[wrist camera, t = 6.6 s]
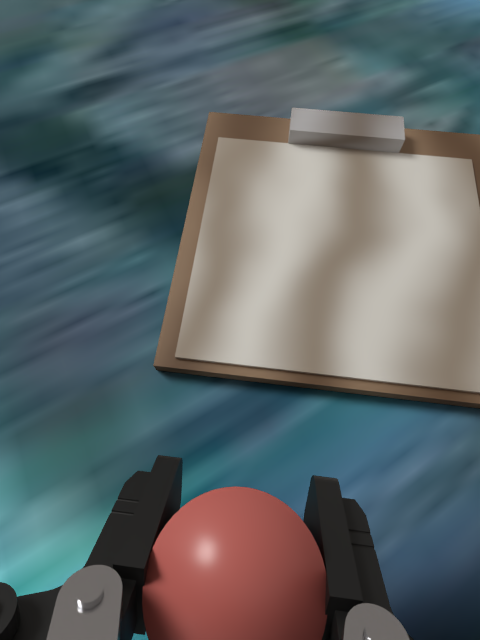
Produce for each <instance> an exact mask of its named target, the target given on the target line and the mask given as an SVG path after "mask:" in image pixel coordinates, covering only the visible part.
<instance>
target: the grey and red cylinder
mask: <svg viewBox="0 0 480 640" xmlns="http://www.w3.org/2000/svg"><path fill="white" fill-rule="evenodd" d="M325 598H326V570H325V566H324V562H323V558H322V556H321V553H320V550H319V548H318V545H317V543H316V541H315V539H314V537H313V535H312V534H311V532H310V531H309V529H308V528H307V526H306V525H305V523H304V522H303V521H302V520H301V518H300V517H299V516H298V515H297V514H296V513H295V512H294V511H293V510H292V509H291V508H290V507H289V506H288V505H286V504H285V503H283V502H282V501H280V500H279V499H278V498H276V497H274V496H272V495H270V494H268V493H265V492H262V491H260V490H257V489H252V488H247V487H225V488H220V489H215V490H212V491H209V492H207V493H204V494H202V495H200V496H198V497H196V498H194V499H193V500H191V501H190V502H188V503H187V504H186V505H184V506H183V507H182V508H181V509H180V510H179V511H178V512H176V513H175V514H174V515H173V517H172V518H171V519H170V520H169V521H168V523H167V524H166V525H165V527H164V528H163V530H162V531H161V533H160V534H159V536H158V538H157V540H156V542H155V544H154V546H153V548H152V551H151V553H150V558H149V564H148V569H147V574H146V580H145V585H144V586H143V593H142V606H143V618H144V623H145V628H146V633H147V636H148V639H149V640H322V637H323V634H324V630H325V625H326V620H327V615H325Z"/></svg>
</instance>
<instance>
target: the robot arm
mask: <svg viewBox="0 0 480 640" xmlns="http://www.w3.org/2000/svg"><path fill="white" fill-rule="evenodd" d="M182 463H183V462H182V458H177V457H169V456H161V455H158V457H157V458H156V461H155V463H154V466H153V468H152V470H151V472H144V471H137V472H136V473H135V474H134V475H133V476H132V477H131V478H130V479H129V480H127V481H126V482H125V484H124V486H123V488H122V490H121V492H120V494H119V496H118V500H117V501H116V503H115V505H114V507H113V509H112V512H111V513H110V515H109V517H108V519H107V521H106V523H105V525H104V527H103V529H102V532H101V534H100V536H99V538H98V540H97V542H96V544H95V546H94V548H93V550H92V552H91V554H90V556H89V558H88V561H87V562H86V564H85V566H84V567H83V568H82V569H81V570H79V571H77V572H76V573H74V574H73V575H72V576H71V577H69V578H68V580H67V581H66V582H65V583H64V584H63V585H62V586H60V587H58V588H55V589H53V590H49V591H45V592H39V593H34V594H29V595H24V596H19V597H17V596H16V593H15V591H14V589H13V588H12V587H11V586H10V585H8V584H6V583H2V582H0V640H132V637H133V633H136V634H142V635H145V632H146V628H145V623H144V618H143V606H142V593H143V586H144V585H145V580H146V574H147V569H148V564H149V558H150V553H151V551H152V548H153V546H154V544H155V542H156V540H157V538H158V536H159V534H160V533H161V531H162V530H163V528H164V527H165V525H166V524H167V523H168V521H169V520H170V519H171V518H172V517H173V515H174V514H175V513H176V512H178V511H179V509H180V503H181V489H182ZM304 523H305V525H306V526H307V528H308V529H309V531H310V532H311V534H312V535H313V537H314V539H315V541H316V543H317V545H318V548H319V550H320V553H321V556H322V558H323V562H324V566H325V570H326V598H325V615H327V620H326V625H325V630H324V634H323V637H322V640H414V639H413V638H411V637H410V636H409V635H408V634H407V632H406V631H405V629H404V627H403V626H402V624H401V623H400V622H399V620H398V619H397V618H396V617H395V616H394V615H393V612H392V610H391V607H390V604H389V601H388V597H387V593H386V589H385V585H384V582H383V578H382V574H381V570H380V567H379V563H378V559H377V555H376V552H375V550H374V544H373V540H372V537H371V535H370V529H369V525H368V521H367V518H366V515H365V513H364V512H363V510H362V509H361V508H360V506H359V505H358V503H357V502H356V501H355V499H347V498H342V496H341V491H340V486H339V482H338V479H337V478H329V477H322V476H314V475H313V476H312V478H311V482H310V487H309V492H308V497H307V502H306V507H305V513H304Z"/></svg>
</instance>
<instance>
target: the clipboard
mask: <svg viewBox="0 0 480 640" xmlns="http://www.w3.org/2000/svg"><path fill="white" fill-rule="evenodd" d="M153 366H154V367H155V368H156V370H160V371H168V372H177V373H185V374H193V375H202V376H210V377H219V378H227V379H236V380H244V381H253V382H261V383H270V384H278V385H287V386H295V387H303V388H312V389H320V390H329V391H337V392H346V393H354V394H363V395H371V396H380V397H388V398H396V399H405V400H413V401H422V402H430V403H439V404H447V405H456V406H464V407H473V408H480V135H475V134H463V133H452V132H440V131H428V130H416V129H404V118H403V117H398V116H386V115H374V114H362V113H350V112H338V111H326V110H314V109H302V108H292V112H291V119H286V118H274V117H263V116H251V115H239V114H227V113H215V112H209V116H208V120H207V125H206V129H205V134H204V139H203V143H202V148H201V152H200V157H199V161H198V166H197V170H196V175H195V179H194V184H193V188H192V193H191V197H190V202H189V207H188V211H187V216H186V220H185V225H184V229H183V234H182V238H181V243H180V247H179V252H178V256H177V261H176V265H175V270H174V274H173V279H172V284H171V288H170V293H169V297H168V302H167V306H166V311H165V315H164V320H163V324H162V329H161V333H160V338H159V342H158V347H157V352H156V356H155V361H154V365H153Z"/></svg>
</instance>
